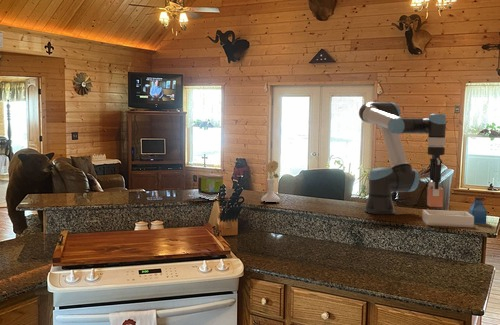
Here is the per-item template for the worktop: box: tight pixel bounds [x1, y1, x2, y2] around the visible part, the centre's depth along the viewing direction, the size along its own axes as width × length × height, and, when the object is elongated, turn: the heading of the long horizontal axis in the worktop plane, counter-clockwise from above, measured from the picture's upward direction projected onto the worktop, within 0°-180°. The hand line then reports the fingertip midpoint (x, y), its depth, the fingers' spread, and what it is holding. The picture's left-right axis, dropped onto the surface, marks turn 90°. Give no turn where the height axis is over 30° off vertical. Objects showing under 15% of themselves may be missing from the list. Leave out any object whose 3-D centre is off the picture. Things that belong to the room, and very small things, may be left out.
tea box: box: [197, 173, 224, 197], centre depth 289 cm, size 15×10×15 cm
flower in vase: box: [260, 160, 281, 203], centre depth 275 cm, size 13×11×25 cm
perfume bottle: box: [468, 196, 488, 225], centre depth 225 cm, size 6×6×12 cm
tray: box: [422, 209, 475, 228], centre depth 222 cm, size 13×20×5 cm, turn 79°
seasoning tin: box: [426, 186, 444, 208], centre depth 226 cm, size 6×6×8 cm
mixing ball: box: [427, 180, 433, 189], centre depth 226 cm, size 4×4×4 cm
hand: (434, 194), depth 225 cm, fingers closed on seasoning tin, 6 cm apart
